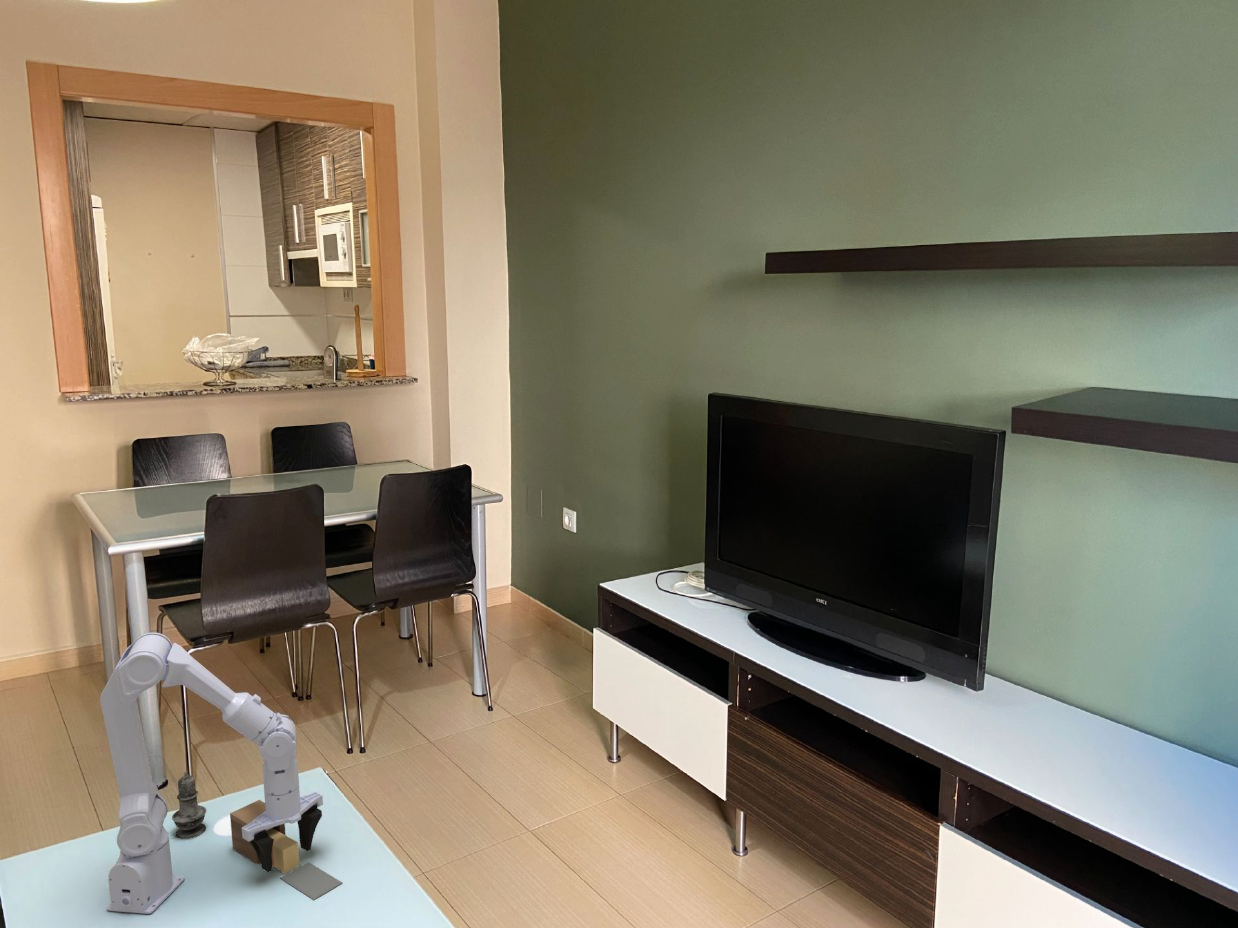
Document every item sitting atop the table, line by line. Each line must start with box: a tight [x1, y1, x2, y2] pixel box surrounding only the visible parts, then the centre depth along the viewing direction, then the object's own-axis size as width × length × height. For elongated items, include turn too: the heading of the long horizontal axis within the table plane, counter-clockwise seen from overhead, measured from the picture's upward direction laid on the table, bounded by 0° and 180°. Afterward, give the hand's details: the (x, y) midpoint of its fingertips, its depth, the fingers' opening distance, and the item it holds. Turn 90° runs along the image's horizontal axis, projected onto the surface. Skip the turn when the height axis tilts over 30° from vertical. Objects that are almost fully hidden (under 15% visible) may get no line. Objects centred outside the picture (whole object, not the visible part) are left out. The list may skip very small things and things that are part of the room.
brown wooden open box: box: [229, 799, 286, 865], centre depth 163 cm, size 6×8×7 cm
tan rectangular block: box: [266, 828, 301, 874], centre depth 160 cm, size 3×12×4 cm, turn 54°
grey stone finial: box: [171, 771, 207, 840], centre depth 168 cm, size 6×6×12 cm
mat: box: [280, 862, 343, 901], centre depth 154 cm, size 6×10×1 cm, turn 53°
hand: (286, 858), depth 158 cm, fingers open, 7 cm apart
